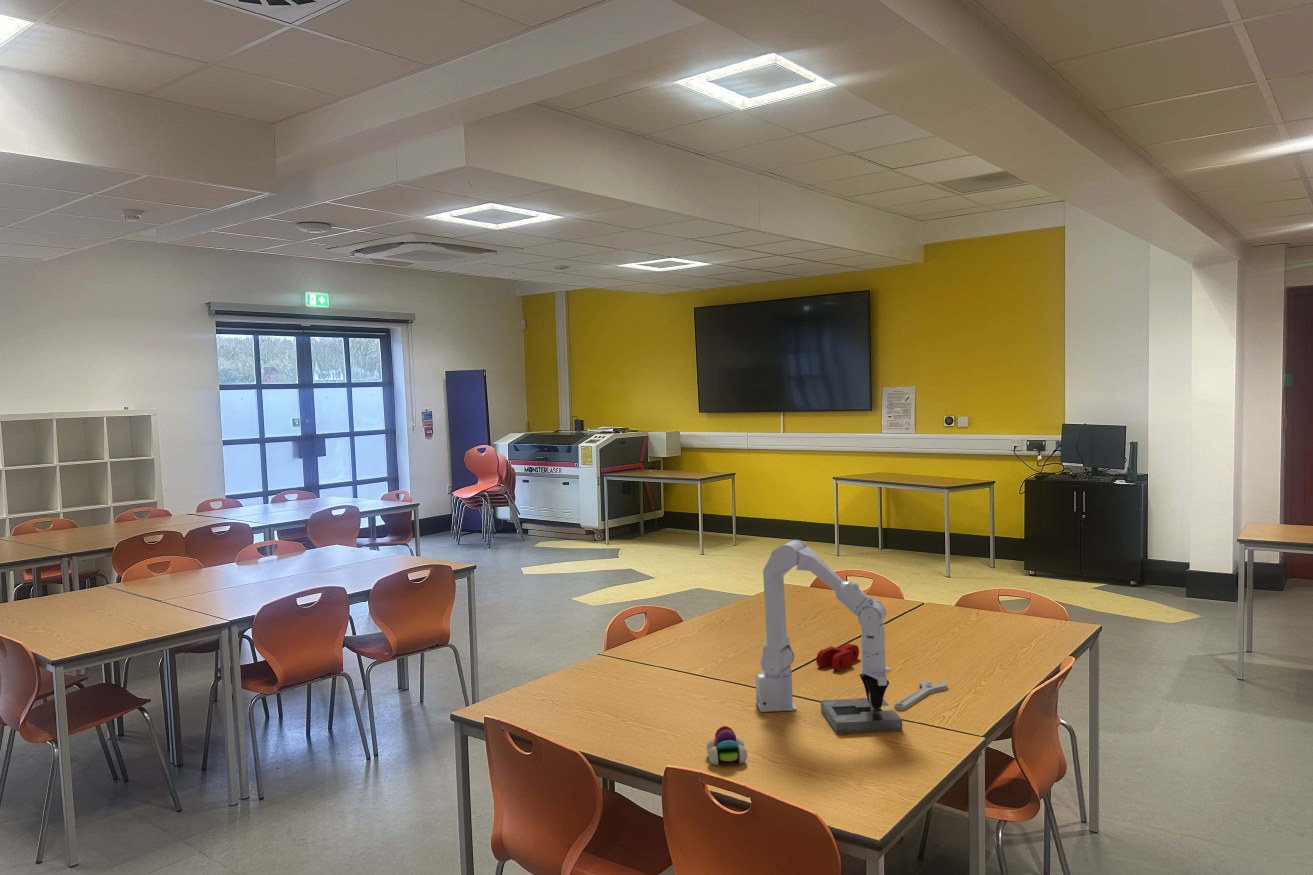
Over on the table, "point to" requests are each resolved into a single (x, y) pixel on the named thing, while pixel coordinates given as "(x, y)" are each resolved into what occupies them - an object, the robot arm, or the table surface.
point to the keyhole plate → (859, 716)
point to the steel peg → (871, 706)
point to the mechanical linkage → (838, 657)
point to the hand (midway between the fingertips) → (874, 705)
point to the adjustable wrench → (920, 694)
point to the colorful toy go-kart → (726, 747)
